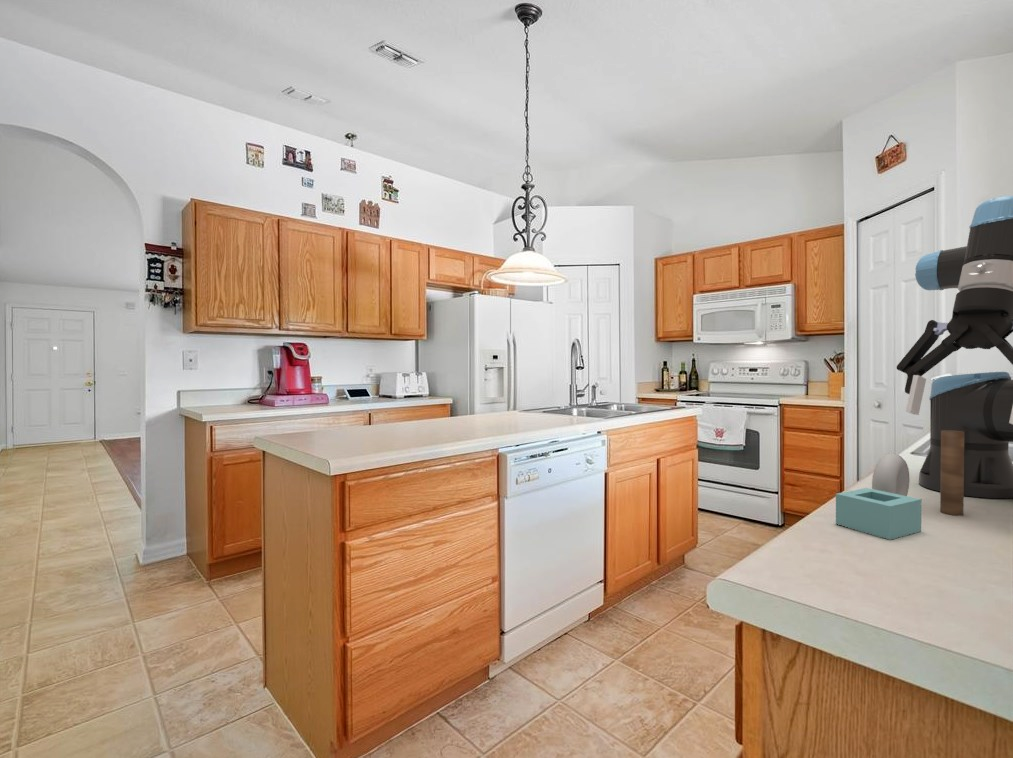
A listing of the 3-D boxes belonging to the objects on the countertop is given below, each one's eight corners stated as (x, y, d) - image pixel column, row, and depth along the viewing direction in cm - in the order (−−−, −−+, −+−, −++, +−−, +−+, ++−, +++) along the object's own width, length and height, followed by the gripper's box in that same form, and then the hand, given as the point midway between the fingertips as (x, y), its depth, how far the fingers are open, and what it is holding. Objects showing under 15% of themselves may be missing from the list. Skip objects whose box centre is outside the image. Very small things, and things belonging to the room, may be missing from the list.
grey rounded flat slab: (892, 518, 85) (892, 458, 85) (868, 513, 88) (868, 455, 88) (912, 507, 91) (912, 451, 91) (889, 502, 94) (889, 448, 94)
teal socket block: (866, 517, 86) (866, 487, 86) (921, 531, 79) (921, 499, 79) (835, 524, 83) (835, 493, 83) (889, 539, 75) (890, 506, 75)
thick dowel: (945, 509, 90) (946, 429, 89) (967, 513, 87) (968, 431, 86) (936, 511, 88) (937, 431, 88) (957, 516, 86) (958, 433, 85)
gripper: (890, 291, 93) (865, 404, 92) (1090, 277, 71) (1059, 426, 70) (911, 303, 97) (887, 413, 96) (1108, 293, 74) (1079, 436, 73)
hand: (960, 419), depth 83 cm, fingers open, 13 cm apart
